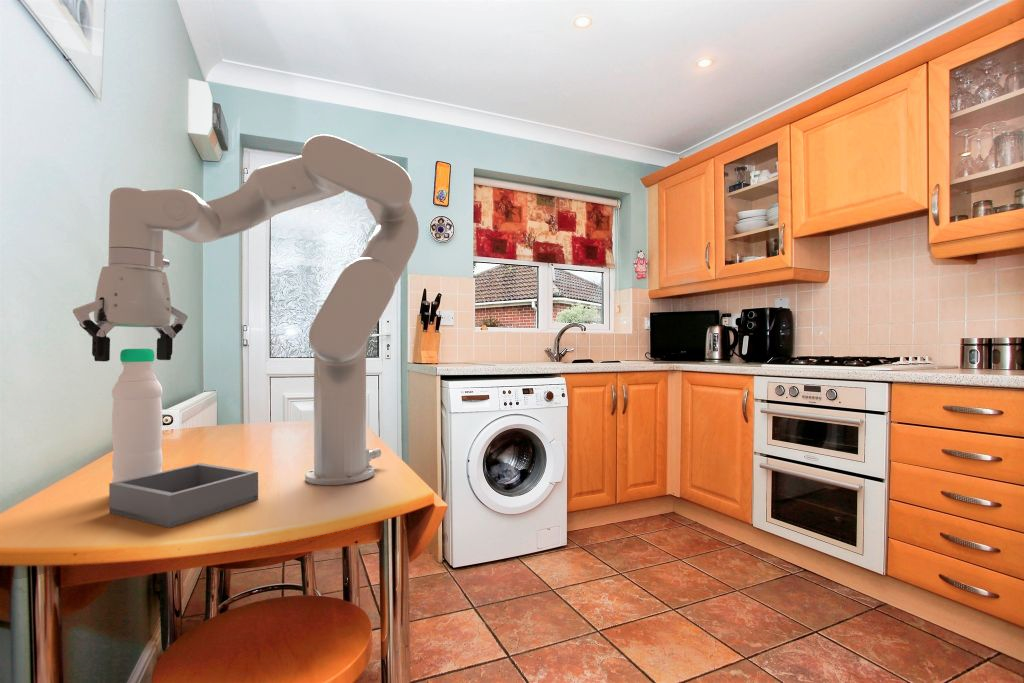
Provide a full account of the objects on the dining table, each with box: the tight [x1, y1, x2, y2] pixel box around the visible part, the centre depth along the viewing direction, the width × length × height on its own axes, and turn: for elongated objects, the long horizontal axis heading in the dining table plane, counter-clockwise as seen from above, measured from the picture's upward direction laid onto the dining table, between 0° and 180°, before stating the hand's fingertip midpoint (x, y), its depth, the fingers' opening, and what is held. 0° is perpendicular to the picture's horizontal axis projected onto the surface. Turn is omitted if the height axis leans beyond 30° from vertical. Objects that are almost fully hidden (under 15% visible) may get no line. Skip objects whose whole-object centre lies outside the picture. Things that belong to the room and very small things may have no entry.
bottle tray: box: [108, 462, 259, 529], centre depth 79 cm, size 14×15×4 cm
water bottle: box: [111, 348, 163, 483], centre depth 87 cm, size 7×7×25 cm
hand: (134, 360), depth 87 cm, fingers open, 9 cm apart
